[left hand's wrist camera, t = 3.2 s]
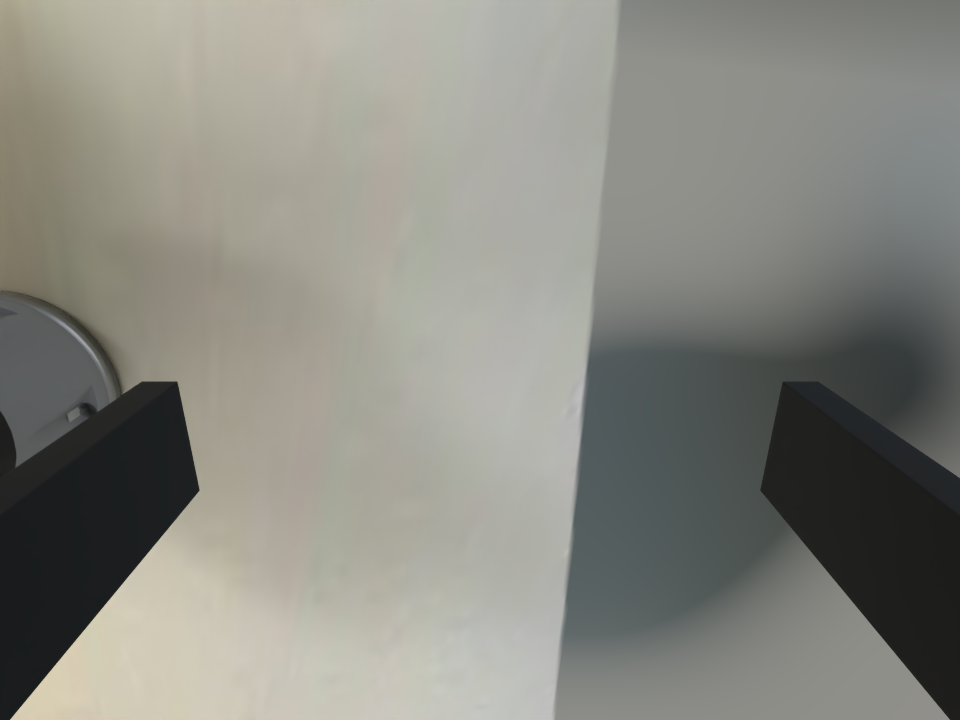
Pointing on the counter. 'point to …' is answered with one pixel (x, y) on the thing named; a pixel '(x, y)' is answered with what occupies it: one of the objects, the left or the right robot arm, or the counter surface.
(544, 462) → the counter surface
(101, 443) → the left robot arm
